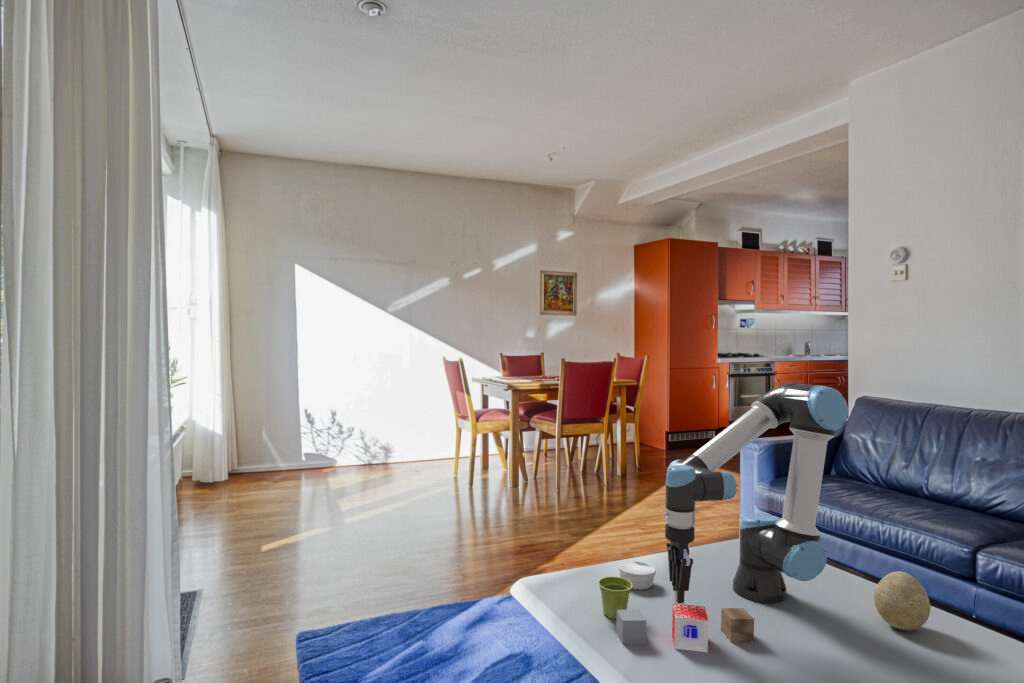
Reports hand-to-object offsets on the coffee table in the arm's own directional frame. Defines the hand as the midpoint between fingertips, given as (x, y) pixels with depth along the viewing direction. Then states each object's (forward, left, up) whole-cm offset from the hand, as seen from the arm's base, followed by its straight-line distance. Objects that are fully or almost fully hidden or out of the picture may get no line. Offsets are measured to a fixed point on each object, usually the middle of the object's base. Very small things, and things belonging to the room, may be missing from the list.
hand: (678, 612), depth 159 cm
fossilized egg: (-61, +2, -4) cm, 61 cm away
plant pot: (+15, -8, -4) cm, 18 cm away
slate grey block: (+14, +5, -4) cm, 16 cm away
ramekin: (+3, -28, -4) cm, 28 cm away
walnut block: (-14, +5, -4) cm, 15 cm away
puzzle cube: (0, +8, -4) cm, 9 cm away
